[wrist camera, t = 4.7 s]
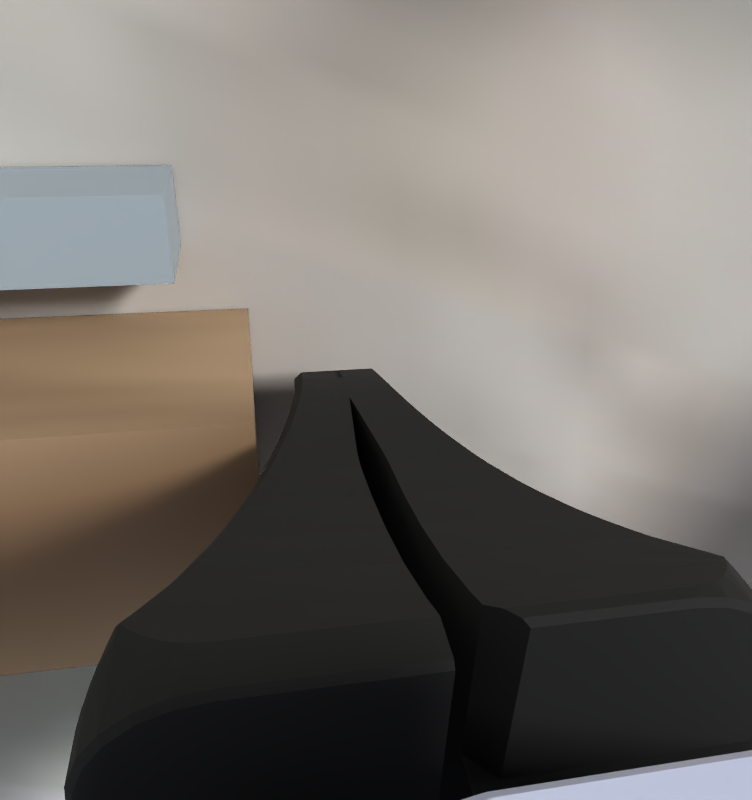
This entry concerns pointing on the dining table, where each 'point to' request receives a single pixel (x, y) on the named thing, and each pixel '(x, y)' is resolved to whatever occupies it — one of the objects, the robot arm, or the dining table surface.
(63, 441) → the tan block
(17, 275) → the jig
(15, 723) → the dining table surface
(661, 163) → the dining table surface
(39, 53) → the dining table surface
